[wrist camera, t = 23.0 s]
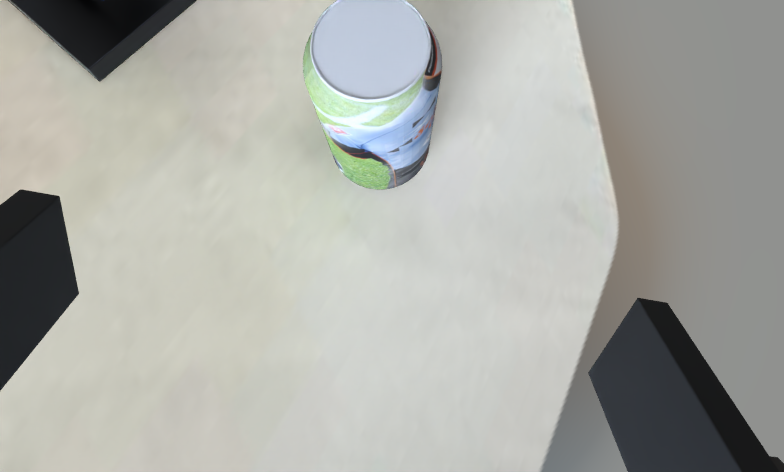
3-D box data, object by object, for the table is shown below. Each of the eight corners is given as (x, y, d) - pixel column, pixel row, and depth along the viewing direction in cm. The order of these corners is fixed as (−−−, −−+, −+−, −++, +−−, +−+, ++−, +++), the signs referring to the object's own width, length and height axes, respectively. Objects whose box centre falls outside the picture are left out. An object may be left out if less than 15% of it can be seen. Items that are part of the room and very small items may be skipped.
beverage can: (428, 191, 31) (493, 113, 20) (312, 198, 30) (307, 120, 18) (417, 98, 32) (472, -28, 21) (304, 102, 31) (295, -30, 19)
